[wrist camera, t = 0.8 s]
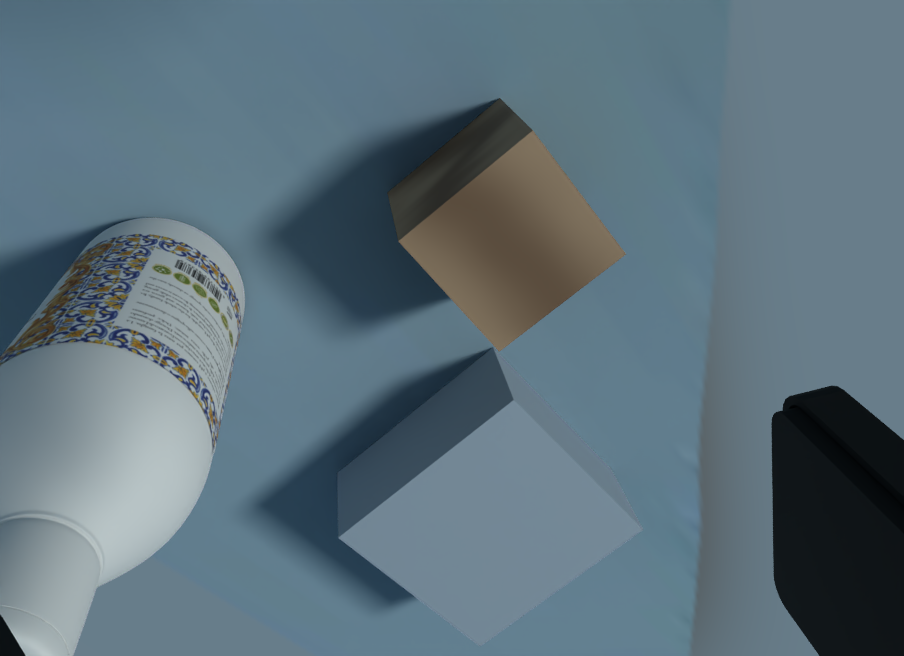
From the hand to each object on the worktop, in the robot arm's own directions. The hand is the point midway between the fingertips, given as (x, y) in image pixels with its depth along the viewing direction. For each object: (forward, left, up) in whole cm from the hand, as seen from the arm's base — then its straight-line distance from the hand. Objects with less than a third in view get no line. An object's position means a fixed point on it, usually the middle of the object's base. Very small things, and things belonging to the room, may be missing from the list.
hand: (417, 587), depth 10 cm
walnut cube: (-2, +6, -26) cm, 26 cm away
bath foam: (+11, 0, -26) cm, 28 cm away
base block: (+7, +17, -26) cm, 31 cm away
